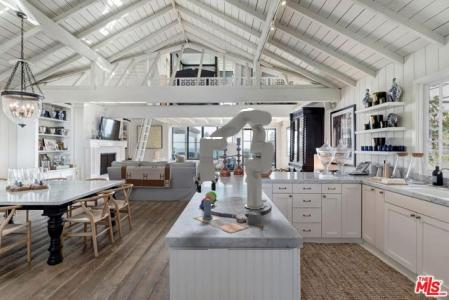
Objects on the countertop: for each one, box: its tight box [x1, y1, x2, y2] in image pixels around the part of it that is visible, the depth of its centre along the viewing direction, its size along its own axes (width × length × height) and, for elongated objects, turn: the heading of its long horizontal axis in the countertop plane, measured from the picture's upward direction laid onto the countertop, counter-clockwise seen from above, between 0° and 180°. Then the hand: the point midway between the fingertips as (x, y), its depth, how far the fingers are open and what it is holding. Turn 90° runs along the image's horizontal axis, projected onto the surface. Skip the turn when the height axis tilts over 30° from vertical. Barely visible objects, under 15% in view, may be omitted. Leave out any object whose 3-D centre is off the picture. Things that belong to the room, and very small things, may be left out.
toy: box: [198, 190, 218, 209], centre depth 178 cm, size 8×8×15 cm
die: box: [247, 211, 262, 225], centre depth 142 cm, size 5×5×5 cm
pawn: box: [202, 199, 213, 220], centre depth 150 cm, size 6×6×11 cm
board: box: [192, 214, 250, 234], centre depth 142 cm, size 12×32×1 cm, turn 40°
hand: (206, 191), depth 149 cm, fingers open, 9 cm apart
